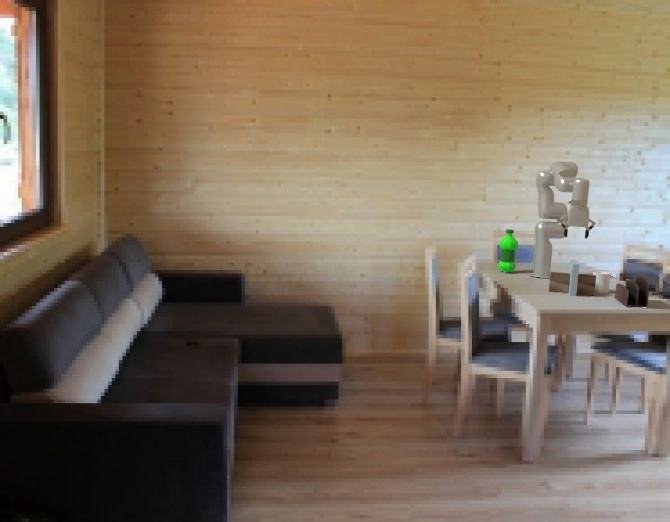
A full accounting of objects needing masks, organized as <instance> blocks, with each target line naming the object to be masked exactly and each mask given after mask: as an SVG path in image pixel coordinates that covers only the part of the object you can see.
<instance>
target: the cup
mask: <svg viewBox="0 0 670 522" xmlns="http://www.w3.org/2000/svg"><path fill="white" fill-rule="evenodd" d="M592 275H596V284H595V293H597V294H608V293H609V290H610V283H611V273H610V272H608V271H602V270H601V271H600V270H599V271H598V270H597V271H595V270H594V271H593V273H592Z"/></svg>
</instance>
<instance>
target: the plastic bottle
mask: <svg viewBox="0 0 670 522" xmlns="http://www.w3.org/2000/svg"><path fill="white" fill-rule="evenodd" d="M514 231H515V230H514V229H509V228H507V229H506V230H505V233H506V235H505V236H504V237H502V238H501V239H500V241H499V247H500V261H499V262H498V270H500V271H501V272H502V271H505V272H511V273H513V272H514V271H515V269H516V267H517V266H516V263H515V257H516V250H517V249H518V247H519V242H518V240H517V239H516V238H515V237H514V236H513V234H514Z"/></svg>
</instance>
